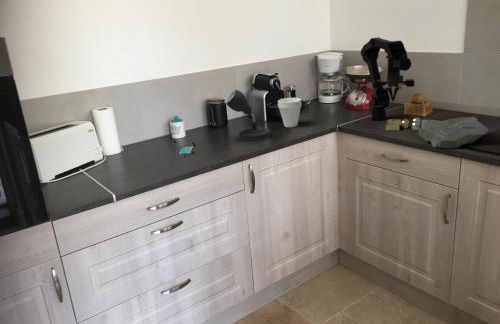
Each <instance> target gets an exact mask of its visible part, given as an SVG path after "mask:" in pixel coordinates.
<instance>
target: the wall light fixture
mask: <svg viewBox="0 0 500 324" xmlns="http://www.w3.org/2000/svg"><path fill="white" fill-rule="evenodd" d="M225 104H226V106H227V107H228V108H229V109H231V110H232V111H235V112H238V113H239V112H240V113H241V112H242V113H244V114H245V115H250V116H251V119H252V120H251V127H248V128H245V129H242V130H240V131H239V133H238V137H239V138H240V140H241V141H243V140H244V142H258V141H259V140H260V141H264V140H267V139H269V138H270V137H272V133H271V132H272V131H271V130H270V128H267V127H261V126H257V120H256V115H255V114H254V113H253V111H252V107H251V105H249V104H248V99H247V97H246V96H245V94H244V93H243V92H242V91H241V90H239V89H234V91H233V92H232V93H231V94H230V95H229V96H228V97H227V99H226V101H225ZM239 138H238V139H239ZM260 141H259V142H260Z"/></svg>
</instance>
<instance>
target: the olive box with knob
mask: <svg viewBox="0 0 500 324" xmlns="http://www.w3.org/2000/svg"><path fill="white" fill-rule="evenodd" d="M409 126H410V121H409V119H407V118H404V119H392V118H391V119H389V118H388V119H387V121H386V124H385V131H400V128H403V129H407V128H409Z"/></svg>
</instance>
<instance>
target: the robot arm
mask: <svg viewBox="0 0 500 324" xmlns="http://www.w3.org/2000/svg"><path fill="white" fill-rule="evenodd" d="M381 50H383V51H384V53H386V54H387V55H386V56H385V59H387V73H386V74H387V76H386V81H383V79H382V77H381V72H380V69H379V65H378V62H377V61H378V58H379V53H380V51H381ZM360 55H361V58H362V61H363V62H365V63H366V65H367V69H368V72H369V78H370V83H371V86H372V93H371V95H370V96H371V99H370V101H369V102H368V107H369V108H370V109H371V121H385V120H386V118H387V109H386V108H389V105H390V100H391V102H395V99H396V96H397V93H398V91H399V90H401V89H402V86H406V87H407V88H408V87H409V88H412V87H413V88H414V87H415V79H413V78H405V80H404V75H401V71H403V72H404V71H405V72H406V71H408V70H410V68H412V60H411V59H410V58H408V54H407V49H406V48H405V44H404V43H403V41H402V40H393V41H392V40H388V39H384V38H381V37H380V36H378V37H371V38H370V39H369V40H368V41H367V42H366V43H364V44H363V46H362V48H361V50H360ZM393 87H394V90H393Z"/></svg>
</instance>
